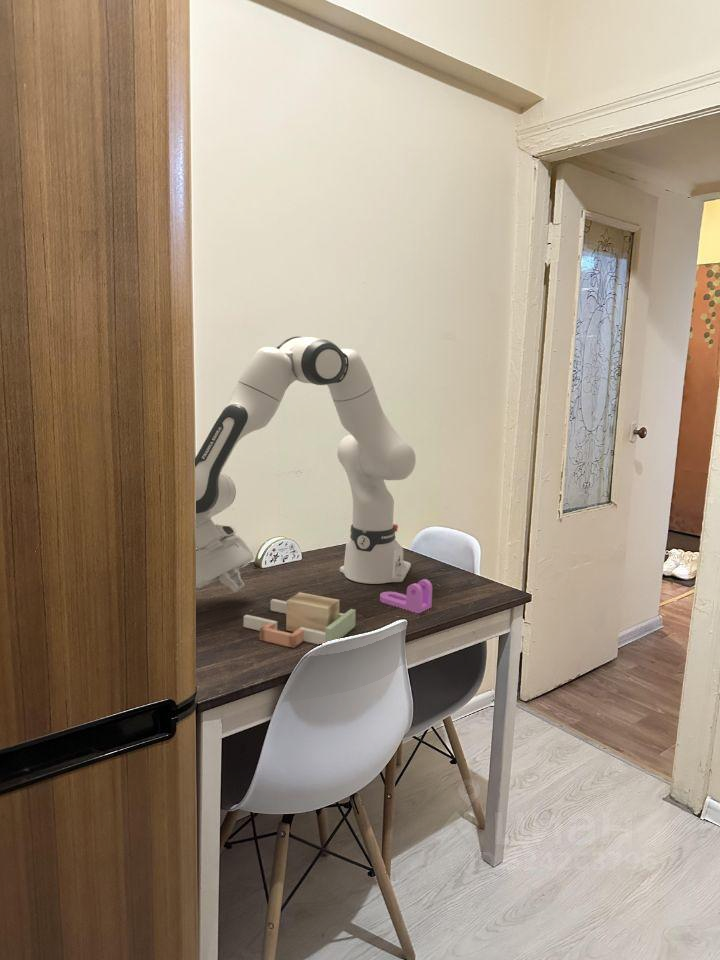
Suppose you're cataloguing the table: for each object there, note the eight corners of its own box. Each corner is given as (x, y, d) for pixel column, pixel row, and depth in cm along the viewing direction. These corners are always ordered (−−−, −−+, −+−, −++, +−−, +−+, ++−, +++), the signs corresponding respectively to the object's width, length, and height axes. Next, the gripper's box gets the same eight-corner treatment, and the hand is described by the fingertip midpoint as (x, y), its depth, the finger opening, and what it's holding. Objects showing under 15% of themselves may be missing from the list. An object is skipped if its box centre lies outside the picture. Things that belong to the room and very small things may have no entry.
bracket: (431, 608, 166) (432, 581, 165) (418, 614, 162) (419, 586, 161) (388, 595, 174) (389, 569, 173) (375, 600, 170) (376, 574, 169)
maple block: (299, 621, 156) (299, 592, 154) (338, 629, 152) (339, 599, 150) (286, 630, 150) (286, 600, 149) (326, 639, 146) (327, 608, 145)
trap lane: (281, 603, 166) (282, 587, 165) (362, 620, 157) (363, 604, 156) (232, 633, 148) (232, 615, 147) (320, 654, 139) (321, 636, 138)
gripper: (183, 545, 149) (220, 595, 147) (237, 524, 168) (270, 569, 165) (167, 561, 152) (204, 611, 150) (222, 539, 170) (255, 583, 168)
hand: (239, 588), depth 158 cm, fingers closed
